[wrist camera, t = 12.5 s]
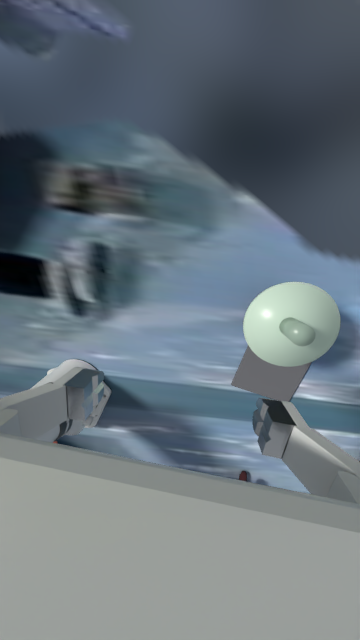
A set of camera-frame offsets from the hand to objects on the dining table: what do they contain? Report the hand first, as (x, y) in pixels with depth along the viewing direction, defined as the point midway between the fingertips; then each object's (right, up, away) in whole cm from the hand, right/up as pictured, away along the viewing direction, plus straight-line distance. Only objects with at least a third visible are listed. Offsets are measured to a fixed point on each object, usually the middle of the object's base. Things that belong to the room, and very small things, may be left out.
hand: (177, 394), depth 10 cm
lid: (+17, +3, +18) cm, 25 cm away
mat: (+21, -8, +33) cm, 40 cm away
